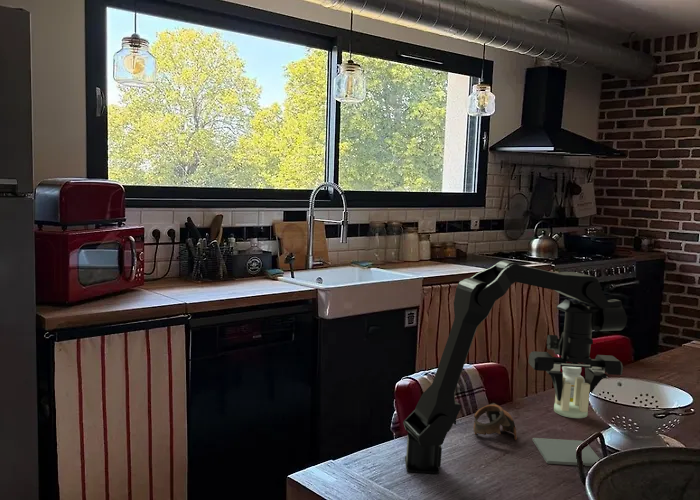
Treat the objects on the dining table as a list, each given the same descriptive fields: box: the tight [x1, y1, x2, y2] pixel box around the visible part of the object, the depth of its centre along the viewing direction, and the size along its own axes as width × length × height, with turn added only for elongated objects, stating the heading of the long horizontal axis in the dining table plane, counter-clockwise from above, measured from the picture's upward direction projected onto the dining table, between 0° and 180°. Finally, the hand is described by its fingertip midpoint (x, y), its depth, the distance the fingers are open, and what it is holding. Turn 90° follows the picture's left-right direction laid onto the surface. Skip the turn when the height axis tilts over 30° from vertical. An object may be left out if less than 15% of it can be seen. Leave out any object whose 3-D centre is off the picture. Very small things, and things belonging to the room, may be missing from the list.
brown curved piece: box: [472, 402, 518, 441], centre depth 149 cm, size 12×9×8 cm
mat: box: [532, 437, 601, 467], centre depth 141 cm, size 12×12×1 cm
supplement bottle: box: [561, 366, 585, 402], centre depth 165 cm, size 7×7×13 cm
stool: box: [553, 376, 590, 419], centre depth 139 cm, size 7×7×7 cm
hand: (571, 401), depth 139 cm, fingers closed on stool, 5 cm apart
